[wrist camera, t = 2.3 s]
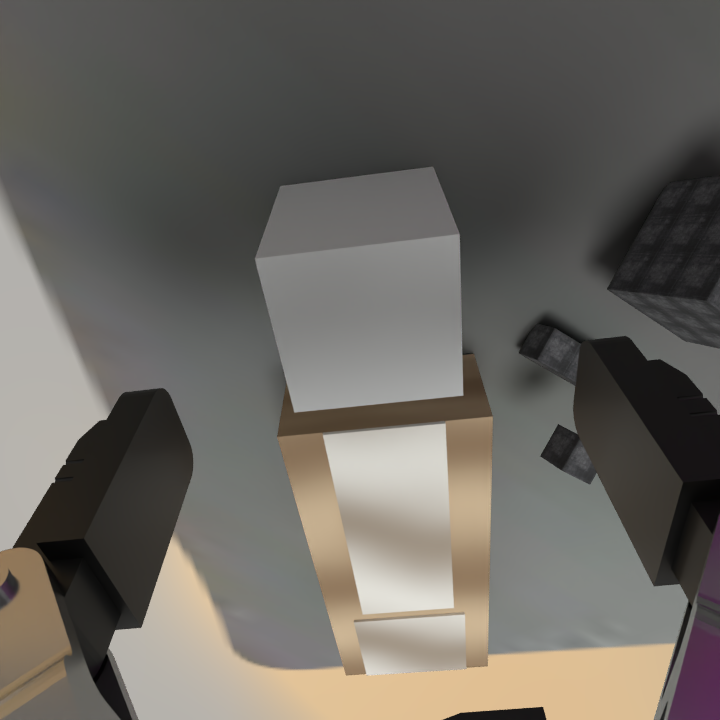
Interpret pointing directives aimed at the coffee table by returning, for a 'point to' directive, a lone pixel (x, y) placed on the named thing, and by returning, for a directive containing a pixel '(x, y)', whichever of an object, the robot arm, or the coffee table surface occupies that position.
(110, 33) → the coffee table surface
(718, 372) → the coffee table surface
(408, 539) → the frame
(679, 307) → the building blocks
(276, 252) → the grey block
